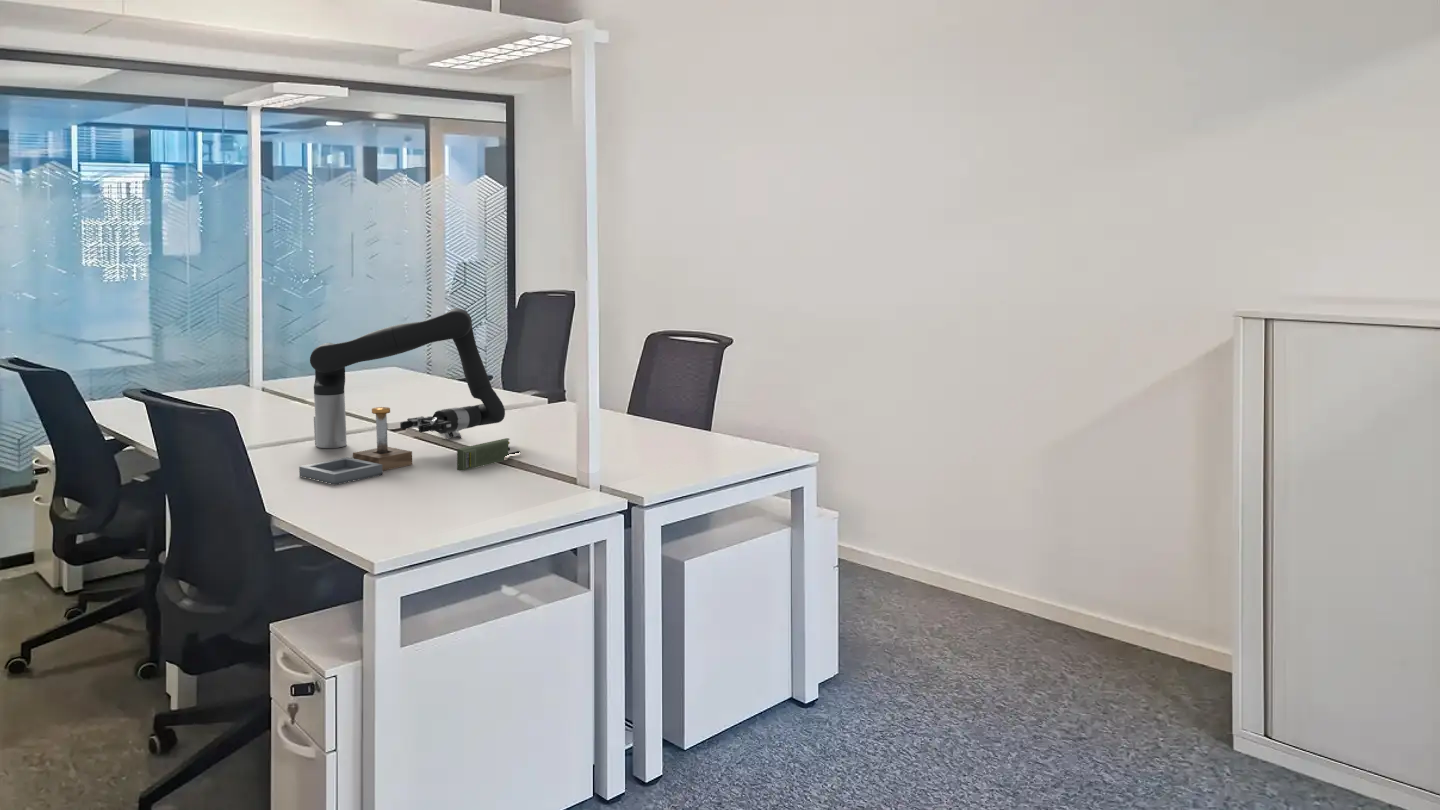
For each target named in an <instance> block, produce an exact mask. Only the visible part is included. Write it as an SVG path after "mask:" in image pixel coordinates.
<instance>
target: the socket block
mask: <svg viewBox="0 0 1440 810" xmlns="http://www.w3.org/2000/svg"><path fill="white" fill-rule="evenodd" d="M352 458H353V459H358V460H363V461H368V462H373V463H377V464H382V472H384V471H388V470H389V471H390V470H393V469H398V468H402V467H406V466H407V467H408V466H413V451H410V450H405V449H403V448H402V449H401V448H396V447H391V446H388V453H385V454H377V447H375V448H371V449H367V450H366V449H365V450H361V451H355V452H352Z"/></svg>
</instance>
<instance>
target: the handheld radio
mask: <svg viewBox="0 0 1440 810" xmlns="http://www.w3.org/2000/svg"><path fill="white" fill-rule="evenodd" d="M509 440H511V439H510V438H507V437H506V438H501V439H496V440H492V441H487V442H482V443H478V444H473V445H469V446H465V447H460V448H457V449H456V459H457V460H456V470H457V471H461V472H462V471H468V470H471V469H475V468H480V467H483V465H484V466H488V465H492V464H495V463H496V464H497V463H500V462H505V461H504V457H505V456H507V455H509V454H515V453H519V452H520V453H521V451H520V450H517V451H513V452H510V451H511V447H510V446H509V445H510V444H511V442H510V441H509ZM509 452H510V453H509Z"/></svg>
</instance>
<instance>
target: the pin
mask: <svg viewBox="0 0 1440 810" xmlns="http://www.w3.org/2000/svg"><path fill="white" fill-rule="evenodd" d="M389 413H390V414H391V408H390V407H388V406H378V407H377V406H376V407H372V408H371V414H373V415H374V414H375V423H376V424H375V425H376V427H375V428H376V448H377V454H385V453H388V447H389V445H388V422H387V421H388V420H387V419H388V417H387V414H389Z"/></svg>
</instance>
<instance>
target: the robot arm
mask: <svg viewBox="0 0 1440 810" xmlns="http://www.w3.org/2000/svg"><path fill="white" fill-rule="evenodd" d="M448 340H452V341H453V343H454V345H455V347H456V350H457V351H458V355H459V358H460V362H461V363H460V364H461V367H462V370H463V371H462V372H463V373H464V374H463V375H464V378H465V380H466V381H465V382H466V384H467V387H468V389H469V391H470V393H471V397H473V398H474V399H477V400H480V401H481V402H482V403H479V404H475V405H467V406H462V407H451V408H443V410H442V409H437V410H436V411H435V412H434V413H433V416H430V415H429V416H428V415H427V416H426V417H425V416H416V417H411V418H410V417H409V418H407V420H404V421H401V422H400V423H399V424H400V429H401V430H407V429H414V428H417V429H418V432H419V433H427V432H436V433H438V434H440V435H441V434H442V435H444V433H451V432H455V431H462V430H466V429H470V428H475V427H479V426H485V425H491V424H498V423H501V422H502V421H503V420H504V418H505V416H506V409H505V405H504V404H503V402H502V401H501V399H500V398H499V396H498V394H497V393H496V391H495V389H493V387H492V384H491V381H490V379H489V376H488V374H487V373H488V372H487V371H486V368H485V365H484V363H483V360H482V357H481V355H480V353H479V349H478V346H477V343H476V339H475V335H474V330H473V321H472V317H471V314H469V312H467V311H466V310H465V309H463V308H459V307H457V308H456V307H454V308H452V309H450V310H448V311H447V312H446V313H443V314H441V315H438V316H436V317H433V318H430V319H426V320H422V321H413V322H405V323H404V322H403V323H399V324H394V325H389V326H386V327H383V328H380V329H376V330H374V331H371V332H368V333H366V334H364V335H361V336H359V337H357V338H355V339H352V340H348V341H345V342H344V341H343V342H337V343H333V342H326V343H322V344H320V345H318V346H316V347H314V349H313V350H312V352H311V353H310V357H309V364H310V365H311V367H312V368H313V370H314V372H315V373H314V375H315V377H314V383H313V398H314V399H313V401H314V403H313V404H314V416H313V429H314V430H313V432H314V433H313V434H314V445H315V446H316V448H320V449H339V448H342V447H346V446H347V443H348V442H347V421H346V419H347V416H346V399H345V398H346V396H345V385H346V367H348V366H351V365H354V364H358V363H362V362H367V361H373V360H374V361H375V360H380V359H383V358H385V359H386V358H390V357H393V356H397V355H401V354H404V353H407V352H410V351H413V350H415V349H418V348H421V347H424V346H426V345H428V344H429V345H430V344H432V343H435V342H436V343H437V342H443V341H448Z"/></svg>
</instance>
